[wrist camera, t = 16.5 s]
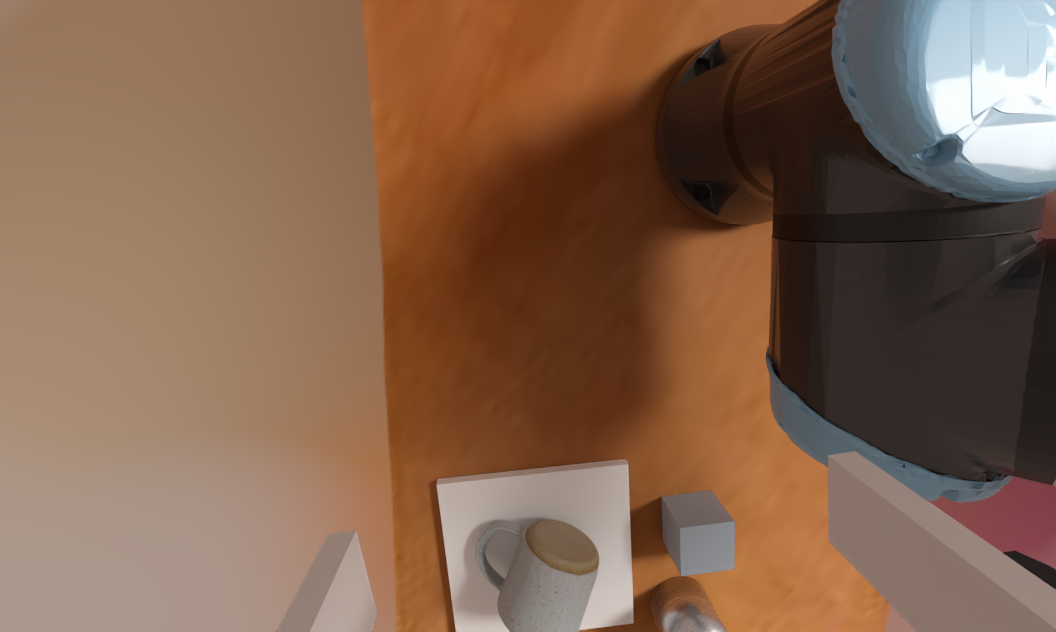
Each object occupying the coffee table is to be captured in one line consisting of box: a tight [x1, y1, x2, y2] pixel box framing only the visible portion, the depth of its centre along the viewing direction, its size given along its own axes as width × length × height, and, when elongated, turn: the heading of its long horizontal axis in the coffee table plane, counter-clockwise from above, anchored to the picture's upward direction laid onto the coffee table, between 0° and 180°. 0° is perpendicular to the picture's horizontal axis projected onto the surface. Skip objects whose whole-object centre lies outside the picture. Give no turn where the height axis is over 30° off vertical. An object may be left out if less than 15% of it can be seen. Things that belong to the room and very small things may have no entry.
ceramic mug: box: [475, 520, 599, 632], centre depth 43 cm, size 11×8×8 cm
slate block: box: [661, 491, 735, 576], centre depth 47 cm, size 5×5×5 cm
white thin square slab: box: [437, 459, 634, 632], centre depth 48 cm, size 18×18×1 cm
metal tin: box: [650, 576, 727, 632], centre depth 48 cm, size 6×6×7 cm
